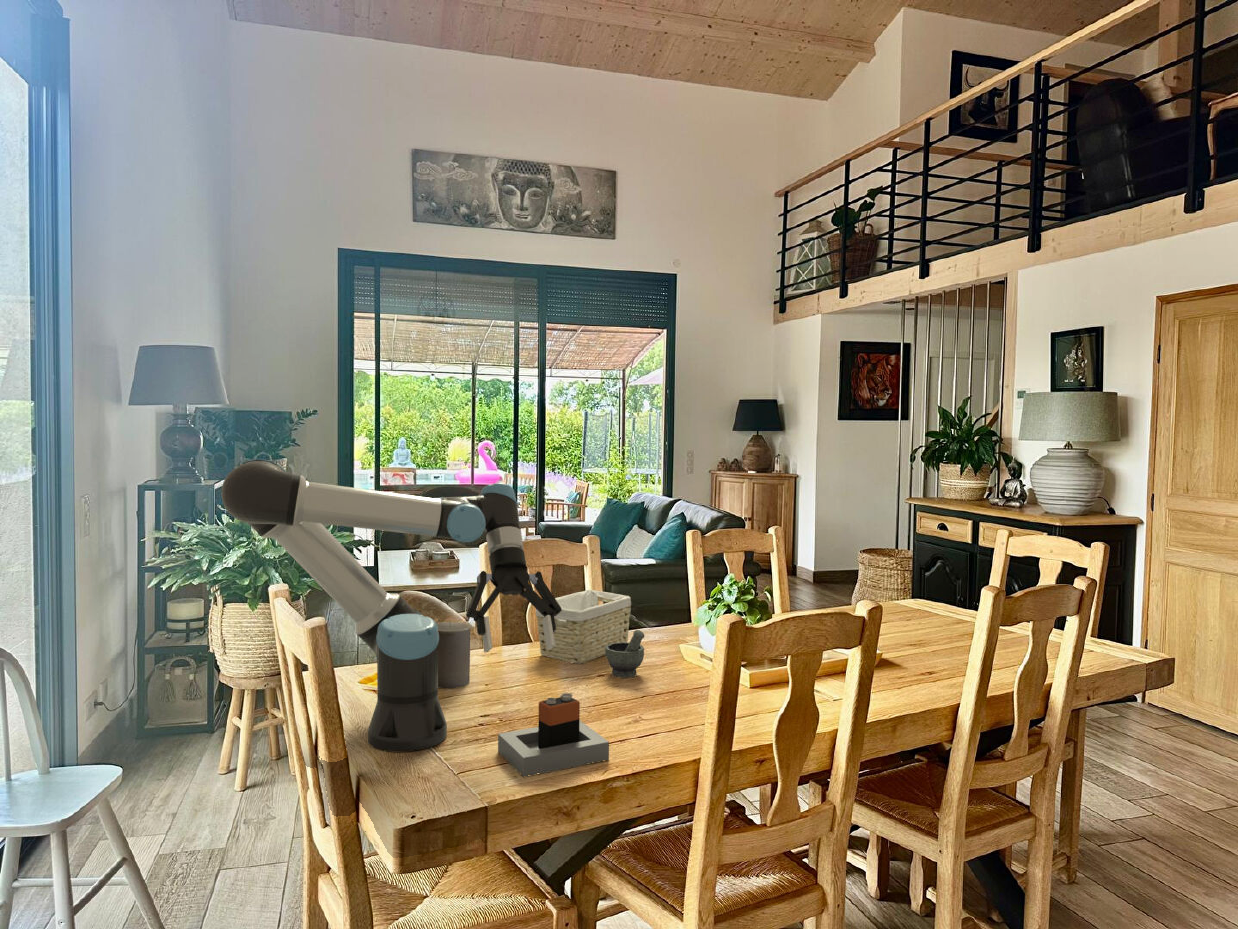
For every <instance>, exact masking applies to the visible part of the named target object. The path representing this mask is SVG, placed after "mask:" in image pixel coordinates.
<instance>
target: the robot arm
mask: <svg viewBox="0 0 1238 929" xmlns="http://www.w3.org/2000/svg"><path fill="white" fill-rule="evenodd" d="M222 482H223V483H222V485H221V493H220V496H221V501H222V504H223V506H224V509H225V510H226V511H227V512H228V514H230V515H231V516H232V517H233V518H235V519H236V520H238V521H240V522H243V523H247V524H248V525H249V526H250V527H251V528H252V529H253V530H254V531H255V532H256V533H257V534H258V535H259V536H260V537H261V538H265V539H266V538H267V539H274V540H275V541H276V542H277V543H278V544H279V545H280V546H281V547H282V548H283V549H284V550H285V551H286V552H287V553H288V554H289V555H290V556H291V557H292V558H293V559H294V560H295V561H296V563H297V564H299V566H301V568H302V569H303V570H305V572H306V573H307V575H308V574H309V576H310V577H311V578H312V579H313V580H314V581H315V582H316V583H317V584H318V585H319V586H320V587H321V588H322V590H324V591H325V593H327V594H328V595H329V596H330V597H331V598H332V599H333V601H335V603H337V605H338V606H339V607H341V609H342V610H343V611H344V612H345V613H346V614H347V615H348V617H350V618H351V619H352V620H353V621H354V622H355V634H356V635H357V636H358V637H359V638H360V639H361V641H363V642H364V643H365V645H367V646H368V647H369V648H370V649H371V651H372V652H373V653H374V654H375V657H376V666H377V672H376V674H377V677H376V678H377V679H376V681H377V682H376V684H377V686H376V687H377V691H376V692H377V694H376V695H377V698H376V699H377V700H376V705H375V707H374V711H373V714H372V717H371V720H370V723H369V725H368V729H367V742H368V744H369V745H370V746H371V747H372V748H375V749H377V750H380V749H381V751H384V750H386V751H385V752H393V751H395V752H394V753H397V752H398V753H399V751H406V752H413V751H414V750H416V751H420V750H425V749H428V748H431V747H434V746H437V745H439V744H441V743H442V742H443V741H445V740H446V738H447V736H448V725H447V724H448V722H447V720H446V718H445V714H444V712H443V708H442V706H441V702H440V700H439V699H440V698H439V688H438V642H439V633H438V627H437V624H436V621H435V620H434V619H433V618H431V617H429V616H424V615H422V614H421V613H420V612H419V611H418V610H416V609H415V608H413V607H412V606H411V605H409V603H408V602H407V601H406V600H405V599H404V598H403V597H402V596H401V595H400V594H399V593H396V592H394V593H393V592H391V593H390V592H389V593H388V592H387V591H386V590H385V589H384V588H383V587H382V585H381V584H379V583H378V582H377V581H376V579H375V578H374V577H373V576H372V575H371V574H370V573H369V572H368V571H367V570H366V569H365V568H364V567H363V566H362V565H361V564H360V563H359V561H358V560H357V559H356V558H355V557H354V556H353V555H352V554H351V552H349V551H348V550H347V549H346V548H345V547H344V546H343V544H341V542H340V541H339V540H338V539H337V538H336V537H335V536H334V535H333V534H332V532H330V531H329V529H328V528H327V527H326V526H325V525H332V526H338V527H339V526H340V527H349V528H359V529H364V530H365V529H366V530H367V529H368V530H376V531H382V532H383V531H385V532H391V533H392V532H393V533H402V534H411V535H417V536H429V537H435V538H440V539H441V538H442V539H451V540H454V541H457V542H459V543H472V542H475V541H477V540H479V538H480V537H481V536H482V535H483V534H484V532H485V535H486V545H487V551H488V554H489V555H488V559H489V560H488V561H489V568H490V573H487V572H486V571H485V570H482V571H480V573H479V574H478V575H477V577H476V587H475V590H474V592H473V595H472V598H471V600H470V602H469V606H468V607H467V610H466V613H465V616H466V618H469V619H470V618H472V619H473V621H474V622H475V624H476V630H477V631H476V632H477V634H478V636H481V637H482V644H483V646H482V647H483V653H489V652H490V651H491V650H492V649H493V640H492V635H491V634H492V632H491V625H490V624H491V623H490V618H489V616H486V613H487V612H488V610H489V609H490V608H491V606H492V605H493V603H494V602H495V601H496V600H497V598H498V596H499V595H500V594H502V595H503V596H508V595H512V596H518V595H520V596H521V597H522V598H525V599H526V600H527V601H528V602H529V603H530V604H531V605H532V606H533V607H534V608H535V610H536V609H537V610H538V611H539V612H540V613H541V614H542V615H543V616H544V618H543V619H542V624H543V630H544V636H545V642H546V649H547V650H550V649H551V648H553V647H554V646H555V641H554V635H553V632H554V631H556V626H555V619H554V616H556V615H558V614H559V613H560V612H561V611H562V609H561V607H560V605H559V604H558V602H557V601H556V599H555V598H556V597H555V596H554V595H553V593H552V592H551V590H550V589H549V587H548V586H547V584H546V583H545V581H544V578H543V574H542V572H541V571H540V570H538V571H536V572H535V573H528V570H527V561H526V556H525V551H524V542H523V536H522V531H521V525H520V518H519V517H520V515H519V511H518V510H519V509H518V505H519V504H518V502H517V498H516V493H515V490H514V488H513V487H512V486H511V485H510V484H507V483H505V482H495V483H493V484H487V485H486V486H484V487H483V488H482V489H481V491H480V495H474V496H471V495H470V496H447V497H445V496H441V497H433V498H432V497H425V496H419V495H411V494H405V493H404V494H403V493H395V492H387V491H379V490H373V489H365V488H360V487H359V488H357V487H352V486H351V487H350V486H342V485H337V484H336V485H335V484H329V483H327V484H326V483H319V482H314V481H313V482H312V481H308V480H307V479H306V477H305V476H304V475H301V474H295V473H294V474H293V473H289V472H287V470H286V469H285V468H283V466H281V465H280V464H277V463H276V462H274V461H272V460H269V459H265V458H264V459H263V458H253V459H251V460H247V461H244V462H243V463H241V464H240V465H238V466H236V467H235V468H233V469H232V470H231V471H230V472H229V473H228V474H227V476H226V477H225V479H224V480H223V481H222ZM489 582H491V583H492V585H493V586H494V589H493V591H492V592H491V593H490V595H489V596H488V598H487V599H486V600H485V601H484V603H483V605H482V606H481V607H480V608H479V610H477V609H478V606H479V603H480V601H481V599H482V595H483V593H484V591H485V589H486V588H485V587H486V585H488V583H489ZM529 582H530V583H531V584H530V583H529ZM532 585H533V586H534V587H533V586H532ZM534 589H535V590H536V591H535V590H534ZM396 751H397V752H396ZM414 752H415V751H414Z"/></svg>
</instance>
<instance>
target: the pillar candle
mask: <svg viewBox="0 0 1238 929" xmlns="http://www.w3.org/2000/svg"><path fill="white" fill-rule="evenodd" d="M436 624H437V627H438V633H439V642H438V689H446V688H447V690H448V689H457V688H456V687H458V688H462V687H465V686H466V685H469V684H470V681H471V679H470V677H471V676H470V674H471V673H470V672H471V669H470V668H471V631H472V630H471V628H472V627H471V625H470V624H468V623H466V622H462V621H451V620H448V621H442V622H437V623H436Z"/></svg>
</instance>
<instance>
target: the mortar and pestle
mask: <svg viewBox="0 0 1238 929" xmlns="http://www.w3.org/2000/svg"><path fill="white" fill-rule="evenodd" d="M644 638H645V633H644V632H643V631H642V630H639V629H636V630H634V631H633V635H632V637H631V639H630V641H629V642H619V643H611V644H609V645H606V646H605V654H606V655H605V658H606V661H607V663H608V665H609V666H610V668H612V669H611V675H612V677H615V676H616V677H615V678H618V677H620V678H619V679H629V678H628V677H632V678H635V677H636V676H638V674H637V668H639V667H640V666H641V664H642V663H643V661H644V655H645V648H644V645H642V644H641V643H642V640H643V639H644ZM635 675H636V676H635Z"/></svg>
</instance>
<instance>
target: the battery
mask: <svg viewBox="0 0 1238 929" xmlns="http://www.w3.org/2000/svg"><path fill="white" fill-rule="evenodd" d="M580 703H581V702H580V701H579V700H577V699H576V698H573V694H572V693H570V692H569V693H568V692H567V693H566V692H565V693H564V692H563V693H562V694H560V696H559V697H548V698H546V700H541V701H539V702H538V724H537V725H538V726H537V727H538V748H539V749H543V748H548V747H553V746H559V745H564V744H570V743H575V742H579V720H580V719H581V718H580V715H581V714H580V712H581V710H580V709H581V708H580V705H581V704H580ZM580 721H581V720H580Z"/></svg>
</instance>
